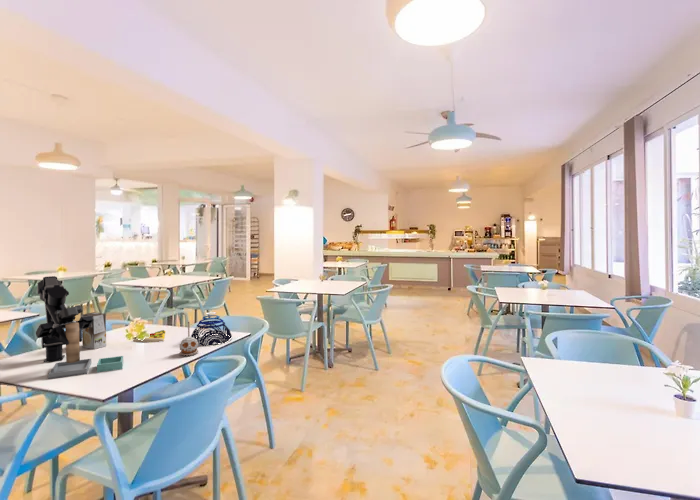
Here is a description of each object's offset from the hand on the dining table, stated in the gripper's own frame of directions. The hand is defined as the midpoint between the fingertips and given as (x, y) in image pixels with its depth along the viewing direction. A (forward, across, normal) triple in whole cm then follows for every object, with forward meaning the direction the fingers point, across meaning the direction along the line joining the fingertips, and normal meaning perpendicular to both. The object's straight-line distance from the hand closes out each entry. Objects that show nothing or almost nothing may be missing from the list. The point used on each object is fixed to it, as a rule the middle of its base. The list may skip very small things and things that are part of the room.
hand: (74, 342), depth 151 cm
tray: (+6, 0, +11) cm, 12 cm away
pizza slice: (-4, +50, +23) cm, 55 cm away
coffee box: (-12, +24, +30) cm, 40 cm away
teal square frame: (+13, +10, +4) cm, 17 cm away
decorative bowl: (+17, +58, +1) cm, 61 cm away
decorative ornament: (+23, +38, -6) cm, 44 cm away
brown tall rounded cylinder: (+4, 0, +6) cm, 8 cm away
